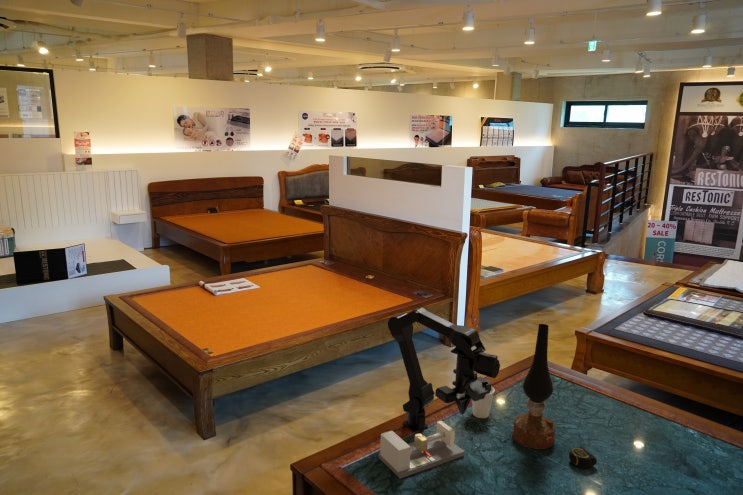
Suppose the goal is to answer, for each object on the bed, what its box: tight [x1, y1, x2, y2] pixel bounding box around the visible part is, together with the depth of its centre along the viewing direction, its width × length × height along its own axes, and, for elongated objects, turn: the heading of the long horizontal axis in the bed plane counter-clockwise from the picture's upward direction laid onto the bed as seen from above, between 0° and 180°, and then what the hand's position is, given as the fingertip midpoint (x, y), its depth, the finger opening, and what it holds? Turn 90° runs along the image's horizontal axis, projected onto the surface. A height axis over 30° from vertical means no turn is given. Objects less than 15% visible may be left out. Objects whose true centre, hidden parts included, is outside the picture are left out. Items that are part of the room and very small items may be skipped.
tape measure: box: [568, 446, 598, 469], centre depth 168 cm, size 7×7×4 cm
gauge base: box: [377, 430, 465, 479], centre depth 169 cm, size 12×24×8 cm, turn 121°
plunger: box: [424, 420, 456, 447], centre depth 171 cm, size 7×9×5 cm
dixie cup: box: [471, 385, 496, 419], centre depth 195 cm, size 8×8×10 cm
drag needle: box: [413, 433, 431, 457], centre depth 167 cm, size 7×2×4 cm, turn 31°
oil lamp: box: [511, 323, 556, 450], centre depth 179 cm, size 14×15×40 cm
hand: (462, 413), depth 176 cm, fingers closed
